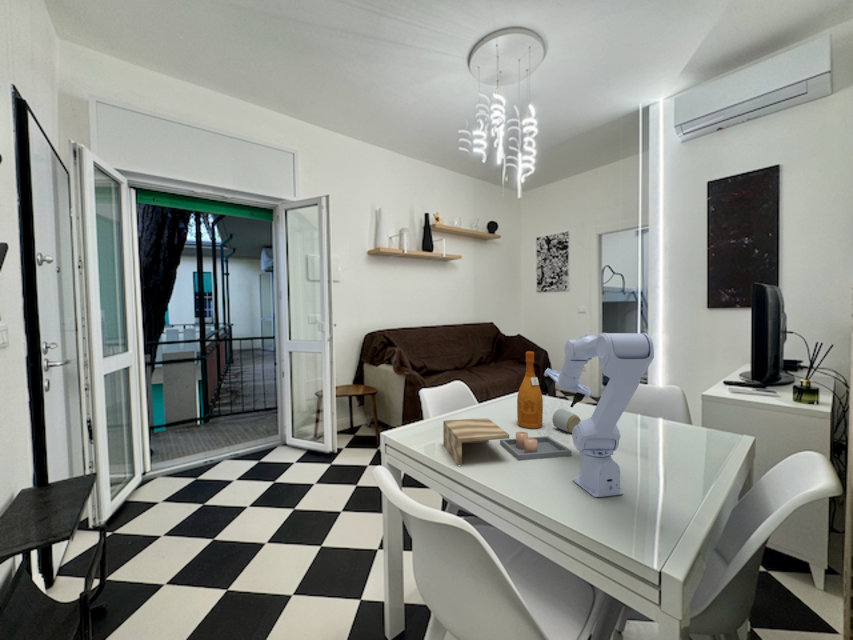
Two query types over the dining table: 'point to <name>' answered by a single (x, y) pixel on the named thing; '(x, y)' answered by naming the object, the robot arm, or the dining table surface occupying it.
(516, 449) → the tray
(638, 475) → the dining table surface
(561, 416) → the ceramic mug
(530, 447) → the pink round cylinder
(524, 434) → the peg
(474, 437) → the wooden l-shaped bracket
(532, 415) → the wine bottle
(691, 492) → the dining table surface
